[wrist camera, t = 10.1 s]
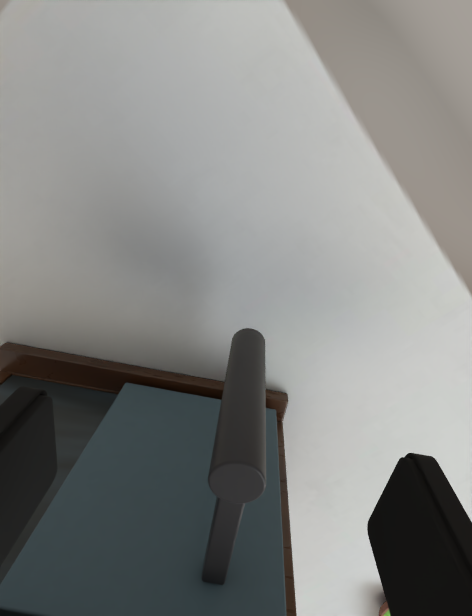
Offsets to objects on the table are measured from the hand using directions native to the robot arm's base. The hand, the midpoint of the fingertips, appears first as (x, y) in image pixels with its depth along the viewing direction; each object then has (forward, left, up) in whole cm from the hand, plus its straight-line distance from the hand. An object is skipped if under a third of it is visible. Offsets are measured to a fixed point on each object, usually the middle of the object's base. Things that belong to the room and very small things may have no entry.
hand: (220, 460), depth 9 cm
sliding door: (+1, -3, -10) cm, 10 cm away
